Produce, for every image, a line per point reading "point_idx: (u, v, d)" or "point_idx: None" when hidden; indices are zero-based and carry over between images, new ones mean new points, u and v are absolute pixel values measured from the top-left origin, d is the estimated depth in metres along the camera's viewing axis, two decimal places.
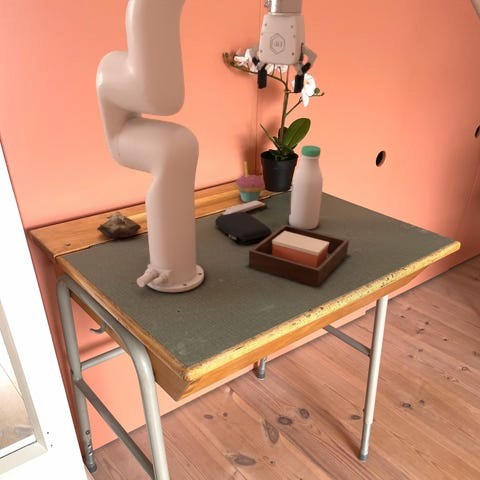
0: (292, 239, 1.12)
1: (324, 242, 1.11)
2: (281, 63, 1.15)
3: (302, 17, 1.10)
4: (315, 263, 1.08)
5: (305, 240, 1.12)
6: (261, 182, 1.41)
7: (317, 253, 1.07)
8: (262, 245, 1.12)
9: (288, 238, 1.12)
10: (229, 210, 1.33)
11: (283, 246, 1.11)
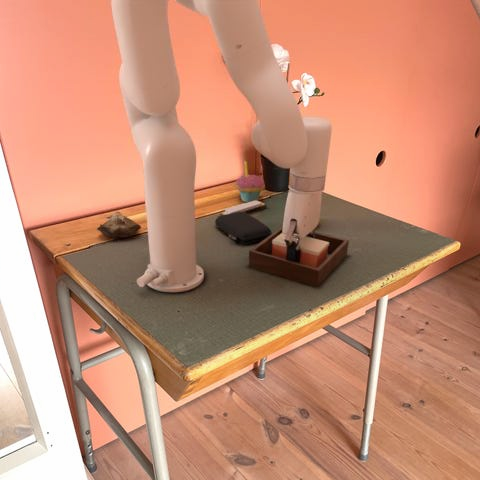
0: None
1: (324, 242, 1.11)
2: None
3: (297, 195, 1.01)
4: (315, 263, 1.08)
5: (305, 240, 1.12)
6: (261, 182, 1.41)
7: (317, 253, 1.07)
8: (262, 245, 1.12)
9: None
10: (229, 210, 1.33)
11: (283, 246, 1.11)
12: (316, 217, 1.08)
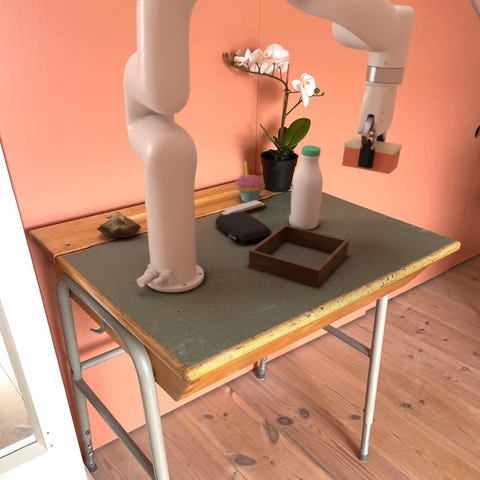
0: None
1: (397, 144, 1.10)
2: None
3: (376, 88, 1.00)
4: (390, 164, 1.07)
5: (377, 143, 1.10)
6: (261, 182, 1.41)
7: (393, 152, 1.06)
8: (262, 245, 1.12)
9: (359, 141, 1.11)
10: (228, 210, 1.33)
11: (356, 149, 1.09)
12: (390, 117, 1.07)
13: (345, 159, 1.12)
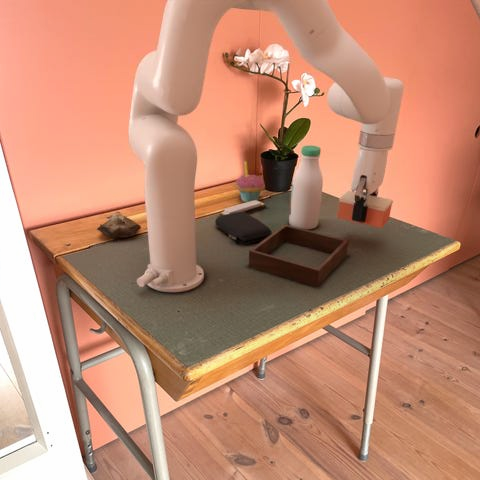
0: None
1: (388, 200, 1.17)
2: None
3: (368, 152, 1.08)
4: (381, 219, 1.15)
5: (370, 198, 1.18)
6: (261, 182, 1.41)
7: (384, 209, 1.13)
8: (262, 245, 1.12)
9: (353, 196, 1.19)
10: (228, 209, 1.34)
11: (350, 204, 1.17)
12: (382, 175, 1.15)
13: (340, 212, 1.19)
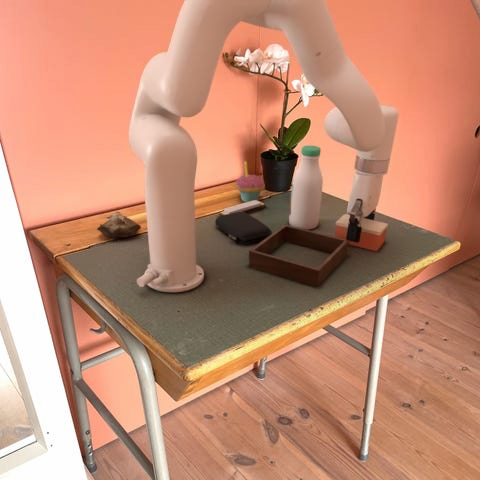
0: None
1: (383, 223, 1.21)
2: None
3: (364, 177, 1.11)
4: (377, 243, 1.18)
5: (366, 222, 1.21)
6: (261, 182, 1.41)
7: (379, 233, 1.17)
8: (262, 245, 1.12)
9: None
10: (227, 209, 1.34)
11: (346, 227, 1.20)
12: (377, 198, 1.18)
13: (336, 235, 1.23)
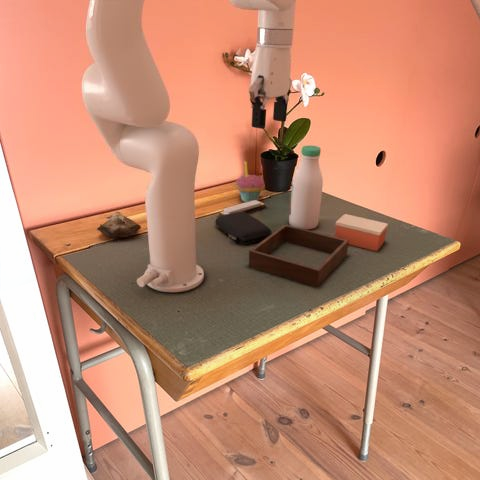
0: (354, 221, 1.22)
1: (383, 223, 1.21)
2: None
3: (264, 49, 1.02)
4: (377, 243, 1.18)
5: (366, 222, 1.21)
6: (261, 182, 1.41)
7: (379, 233, 1.17)
8: (262, 245, 1.12)
9: (349, 220, 1.22)
10: (227, 209, 1.34)
11: (346, 227, 1.20)
12: (285, 81, 1.09)
13: (336, 235, 1.23)
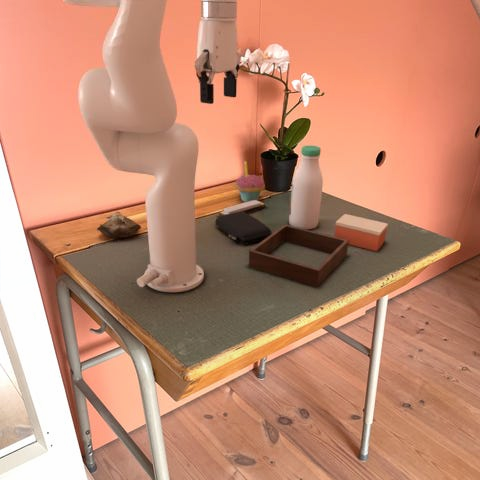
0: (354, 221, 1.22)
1: (383, 223, 1.21)
2: None
3: (207, 22, 1.02)
4: (377, 243, 1.18)
5: (366, 222, 1.21)
6: (261, 182, 1.41)
7: (379, 233, 1.17)
8: (262, 245, 1.12)
9: (349, 220, 1.22)
10: (227, 209, 1.34)
11: (346, 227, 1.20)
12: (232, 55, 1.09)
13: (336, 235, 1.23)
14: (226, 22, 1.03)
